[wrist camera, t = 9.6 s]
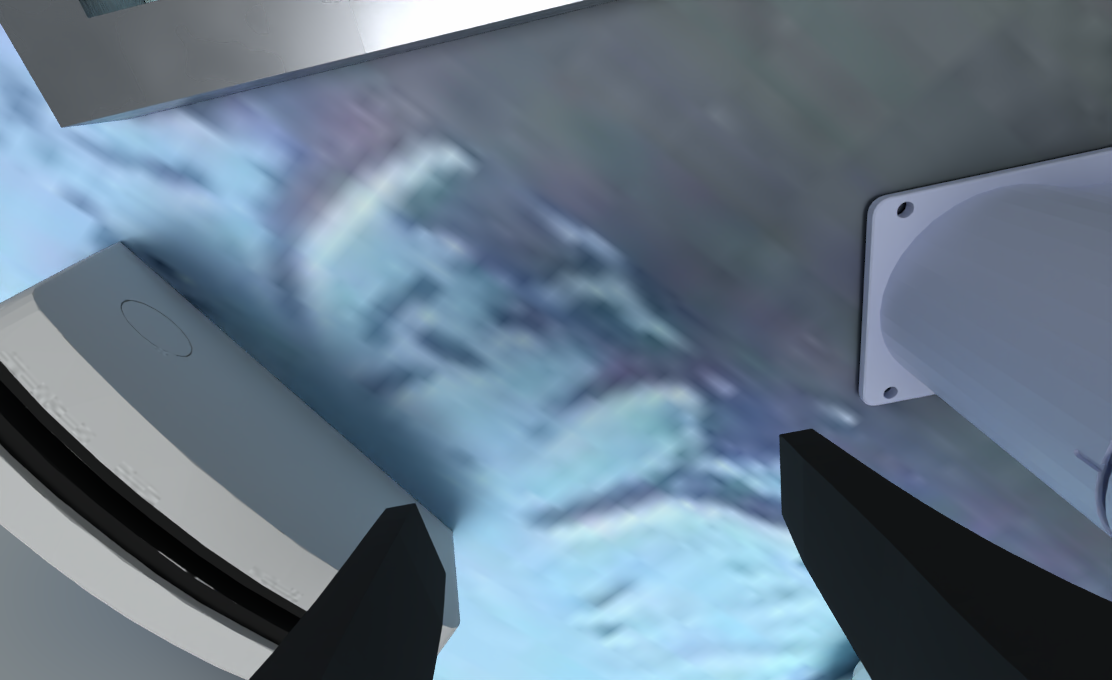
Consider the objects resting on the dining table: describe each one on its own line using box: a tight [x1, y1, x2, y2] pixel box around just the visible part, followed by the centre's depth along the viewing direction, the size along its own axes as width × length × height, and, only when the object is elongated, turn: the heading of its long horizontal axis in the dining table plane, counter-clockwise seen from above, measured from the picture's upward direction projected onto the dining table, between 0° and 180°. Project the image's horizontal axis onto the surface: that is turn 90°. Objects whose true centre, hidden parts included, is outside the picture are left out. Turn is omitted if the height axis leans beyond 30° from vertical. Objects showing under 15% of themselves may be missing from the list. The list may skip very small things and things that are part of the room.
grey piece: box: [0, 242, 460, 680], centre depth 17 cm, size 17×5×10 cm, turn 36°
